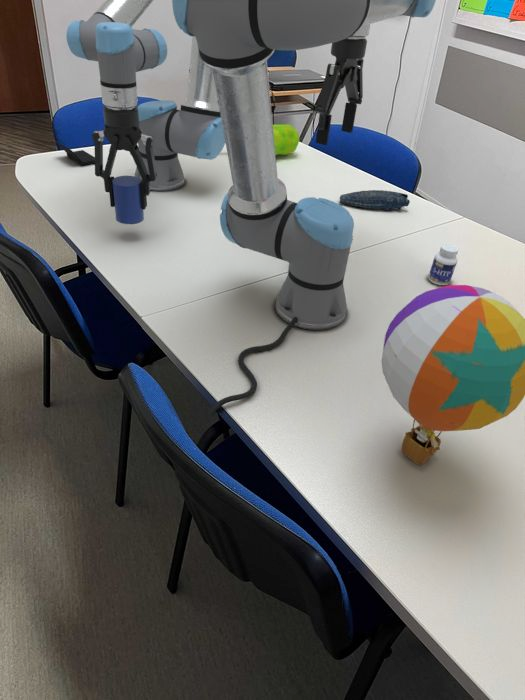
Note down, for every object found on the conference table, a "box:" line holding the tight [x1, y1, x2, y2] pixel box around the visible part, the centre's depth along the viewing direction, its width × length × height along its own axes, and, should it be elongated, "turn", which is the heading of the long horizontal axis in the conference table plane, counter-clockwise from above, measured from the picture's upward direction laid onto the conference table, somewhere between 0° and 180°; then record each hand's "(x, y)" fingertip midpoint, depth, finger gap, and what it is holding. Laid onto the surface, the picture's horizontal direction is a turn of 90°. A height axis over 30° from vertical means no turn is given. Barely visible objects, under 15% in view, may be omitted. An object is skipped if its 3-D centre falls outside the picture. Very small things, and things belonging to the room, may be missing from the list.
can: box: [112, 175, 145, 225], centre depth 127 cm, size 7×7×10 cm
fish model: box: [339, 189, 411, 211], centre depth 158 cm, size 7×21×5 cm, turn 84°
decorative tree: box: [273, 124, 300, 156], centre depth 186 cm, size 18×10×30 cm
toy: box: [381, 284, 525, 467], centre depth 73 cm, size 20×20×30 cm
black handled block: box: [54, 140, 95, 166], centre depth 170 cm, size 12×7×10 cm
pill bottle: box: [427, 243, 459, 286], centre depth 124 cm, size 5×5×9 cm
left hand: (129, 205), depth 128 cm, fingers closed on can, 7 cm apart
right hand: (334, 137), depth 126 cm, fingers open, 13 cm apart
